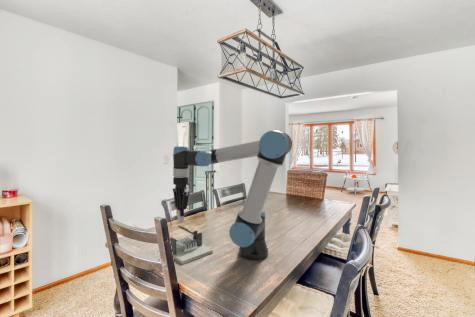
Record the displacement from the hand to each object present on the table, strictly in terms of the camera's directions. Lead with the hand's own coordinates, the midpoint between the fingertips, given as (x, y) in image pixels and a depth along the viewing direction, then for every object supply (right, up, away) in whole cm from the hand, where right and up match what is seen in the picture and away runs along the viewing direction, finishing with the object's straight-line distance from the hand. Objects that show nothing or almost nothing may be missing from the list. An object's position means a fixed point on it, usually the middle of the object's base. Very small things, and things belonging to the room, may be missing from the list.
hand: (180, 221), depth 123 cm
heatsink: (+2, -15, +3) cm, 15 cm away
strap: (+3, -7, +3) cm, 8 cm away
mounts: (+2, -15, +3) cm, 15 cm away
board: (+2, -16, +3) cm, 17 cm away
